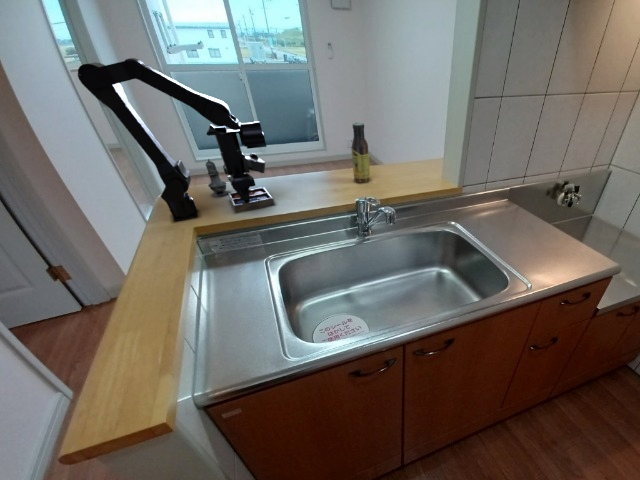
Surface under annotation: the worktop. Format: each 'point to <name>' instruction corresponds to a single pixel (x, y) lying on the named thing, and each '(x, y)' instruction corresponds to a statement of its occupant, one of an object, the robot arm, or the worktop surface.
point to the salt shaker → (216, 181)
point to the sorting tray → (252, 204)
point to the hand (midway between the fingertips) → (246, 201)
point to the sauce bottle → (360, 154)
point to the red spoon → (250, 194)
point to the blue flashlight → (253, 199)
